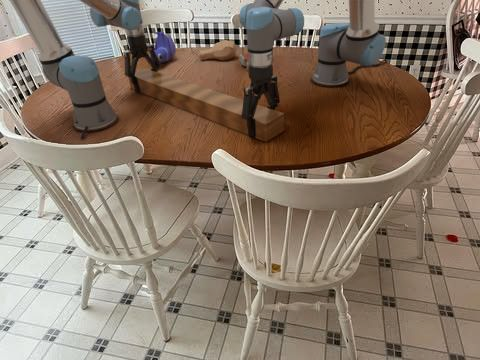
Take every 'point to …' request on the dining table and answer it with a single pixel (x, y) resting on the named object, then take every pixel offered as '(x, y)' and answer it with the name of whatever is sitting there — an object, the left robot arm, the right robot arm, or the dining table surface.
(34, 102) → the dining table surface
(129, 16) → the left robot arm
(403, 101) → the dining table surface
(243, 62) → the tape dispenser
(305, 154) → the dining table surface
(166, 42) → the toy
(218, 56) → the squash
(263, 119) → the slab
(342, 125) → the dining table surface
